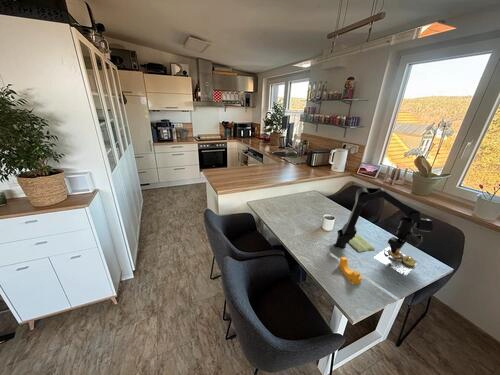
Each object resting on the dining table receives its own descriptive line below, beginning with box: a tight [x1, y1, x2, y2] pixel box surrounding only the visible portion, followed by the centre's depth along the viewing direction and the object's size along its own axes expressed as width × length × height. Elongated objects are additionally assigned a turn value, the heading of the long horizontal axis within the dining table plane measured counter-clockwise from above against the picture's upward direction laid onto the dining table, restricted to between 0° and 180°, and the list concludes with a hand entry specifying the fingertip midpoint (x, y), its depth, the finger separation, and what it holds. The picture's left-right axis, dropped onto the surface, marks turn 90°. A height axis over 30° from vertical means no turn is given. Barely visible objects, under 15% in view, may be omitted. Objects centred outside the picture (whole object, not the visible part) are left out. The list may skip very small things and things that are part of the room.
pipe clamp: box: [338, 256, 363, 285], centre depth 103 cm, size 12×4×6 cm, turn 10°
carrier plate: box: [373, 245, 420, 277], centre depth 113 cm, size 18×16×5 cm
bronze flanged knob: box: [389, 248, 402, 259], centre depth 115 cm, size 6×6×6 cm
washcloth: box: [347, 233, 376, 254], centre depth 127 cm, size 13×18×3 cm
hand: (396, 250), depth 115 cm, fingers open, 9 cm apart
